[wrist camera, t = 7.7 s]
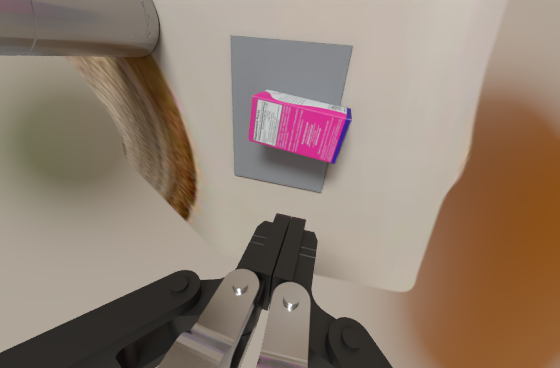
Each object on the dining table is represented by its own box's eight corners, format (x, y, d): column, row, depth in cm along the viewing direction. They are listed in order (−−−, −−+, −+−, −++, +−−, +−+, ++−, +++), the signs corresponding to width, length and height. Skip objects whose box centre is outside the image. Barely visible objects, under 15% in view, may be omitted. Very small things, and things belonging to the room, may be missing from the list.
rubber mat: (235, 173, 38) (234, 174, 38) (231, 35, 28) (230, 35, 27) (321, 191, 35) (321, 192, 35) (352, 45, 25) (352, 45, 25)
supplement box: (336, 150, 31) (261, 128, 32) (351, 108, 28) (267, 86, 29) (334, 167, 26) (245, 140, 28) (352, 118, 23) (251, 91, 24)
